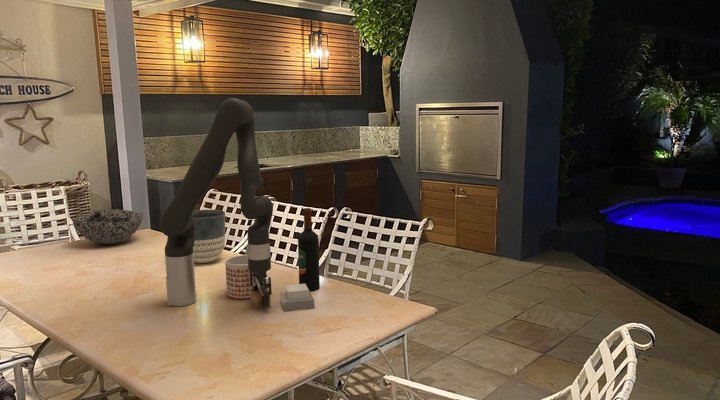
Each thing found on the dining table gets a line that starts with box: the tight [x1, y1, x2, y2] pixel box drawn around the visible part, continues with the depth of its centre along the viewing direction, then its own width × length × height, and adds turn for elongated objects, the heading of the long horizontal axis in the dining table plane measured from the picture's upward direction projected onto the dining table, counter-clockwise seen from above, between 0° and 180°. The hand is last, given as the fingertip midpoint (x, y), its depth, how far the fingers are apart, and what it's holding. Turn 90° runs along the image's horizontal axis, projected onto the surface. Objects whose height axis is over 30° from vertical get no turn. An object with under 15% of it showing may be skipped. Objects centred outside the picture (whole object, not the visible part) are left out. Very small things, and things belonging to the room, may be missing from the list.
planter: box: [192, 209, 226, 264], centre depth 238 cm, size 20×20×21 cm
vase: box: [224, 254, 253, 300], centre depth 197 cm, size 14×14×13 cm
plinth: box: [280, 283, 315, 312], centre depth 185 cm, size 10×10×6 cm
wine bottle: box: [297, 207, 320, 292], centre depth 200 cm, size 8×8×30 cm
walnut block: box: [251, 290, 272, 311], centre depth 184 cm, size 5×5×5 cm
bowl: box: [72, 208, 144, 246], centre depth 273 cm, size 31×31×15 cm
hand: (261, 302), depth 184 cm, fingers open, 8 cm apart
